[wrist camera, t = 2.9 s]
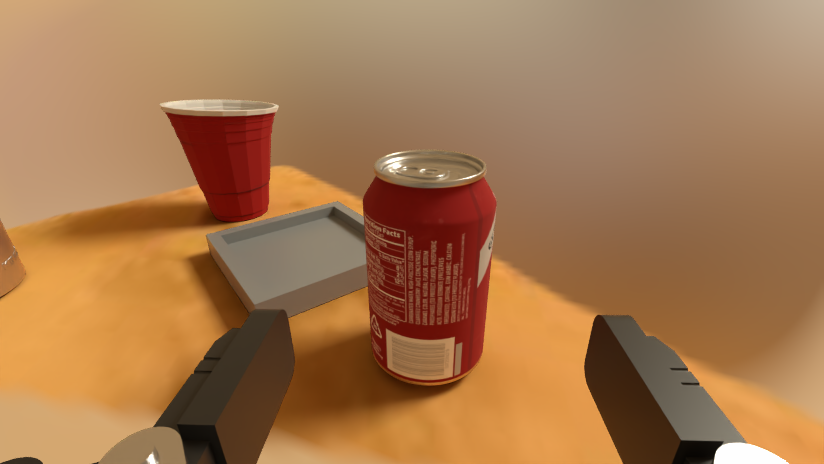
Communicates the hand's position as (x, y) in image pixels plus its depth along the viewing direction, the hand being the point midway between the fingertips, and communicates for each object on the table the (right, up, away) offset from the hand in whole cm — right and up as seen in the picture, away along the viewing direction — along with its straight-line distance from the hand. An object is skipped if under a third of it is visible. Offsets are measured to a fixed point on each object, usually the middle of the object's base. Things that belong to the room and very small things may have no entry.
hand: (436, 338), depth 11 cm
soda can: (0, -5, +14) cm, 15 cm away
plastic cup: (-20, +5, +35) cm, 40 cm away
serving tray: (-10, 0, +24) cm, 26 cm away
